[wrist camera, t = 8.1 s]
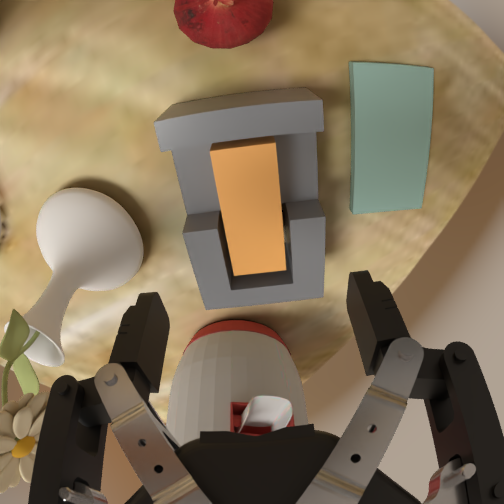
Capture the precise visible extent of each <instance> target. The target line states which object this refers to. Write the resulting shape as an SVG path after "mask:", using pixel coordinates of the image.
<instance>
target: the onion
mask: <svg viewBox="0 0 504 504" xmlns="http://www.w3.org/2000/svg"><path fill="white" fill-rule="evenodd" d="M272 11H273V0H175V5H174V14H175V17H176V20H177V23H178V26H179V29H180V30H181V31H182V32H183V33H185V34H186V35H187V36H188V37H189V38H190V39H191V40H192V41H193V42H195V43H198V44H201V45H204V46H207V47H210V48H227V49H231V48H234V47H237V46H240V45H244V44H247V43H249V42H250V41H252V40H253V39H255V38H256V37H258V36H259V35H260V34H262V33H263V32H264V30H265V28H266V27H267V25H268V24H269V22H270V20H271V19H272Z"/></svg>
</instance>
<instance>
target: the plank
mask: <svg viewBox="0 0 504 504" xmlns="http://www.w3.org/2000/svg"><path fill="white" fill-rule="evenodd" d="M210 156H211V161H212V167H213V172H214V177H215V182H216V188H217V193H218V198H219V203H220V208H221V213H222V218H223V223H224V228H225V233H226V238H227V243H228V248H229V253H230V258H231V263H232V268H233V273H234V276H237V275H246V274H255V273H264V272H273V271H282V270H286V260H285V246H284V233H283V220H282V208H281V196H280V184H279V173H278V162H277V152H276V143H275V139H274V136H264V137H255V138H247V139H239V140H231V141H224V142H217V143H212V145H211V148H210Z"/></svg>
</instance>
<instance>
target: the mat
mask: <svg viewBox="0 0 504 504" xmlns="http://www.w3.org/2000/svg"><path fill="white" fill-rule="evenodd" d="M349 74H350V98H351V186H350V210H351V212H352V214H363V213H374V212H385V211H396V210H408V209H420V208H422V202H423V196H424V189H425V182H426V175H427V167H428V158H429V149H430V138H431V126H432V110H433V80H434V68H430V67H424V66H415V65H405V64H393V63H378V62H349Z"/></svg>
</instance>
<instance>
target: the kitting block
mask: <svg viewBox="0 0 504 504" xmlns="http://www.w3.org/2000/svg"><path fill="white" fill-rule="evenodd" d="M154 126H155V130H156V134H157V138H158V143H159V147H160V151H161V152H164V151H170V150H171V151H172V155H173V160H174V164H175V168H176V172H177V176H178V180H179V184H180V188H181V192H182V196H183V200H184V204H185V208H186V212H187V218H186V222H185V225H184V229H183V233H182V234H183V237H184V240H185V244H186V247H187V251H188V254H189V257H190V261H191V264H192V267H193V271H194V274H195V277H196V280H197V284H198V287H199V290H200V293H201V296H202V299H203V303H204V306H205V309H206V310H210V309H221V308H232V307H242V306H252V305H262V304H271V303H280V302H289V301H297V300H305V299H313V298H321V297H323V294H324V269H325V224H326V216H325V214H324V212H323V209H322V207H321V205H320V202H319V200H318V167H317V141H316V132H322V131H324V117H323V100H322V99H321V98H319V97H318V96H317V95H315V94H314V93H312V92H311V91H310V90H308V89H307V88H306V87H303V88H288V89H276V90H265V91H256V92H247V93H239V94H232V95H225V96H218V97H212V98H206V99H200V100H194V101H189V102H183V103H178V104H173V105H171V106H170V107H169V108H168V109H167V110H166V111H165V112H164V113H163V114H162V115H161V116H160V117H159V118H157V119H156V120H155V121H154ZM264 136H274V139H275V143H276V152H277V162H278V173H279V184H280V196H281V203H283V213H284V227H285V240H286V243H284V246H285V260H286V270H282V271H273V272H264V273H255V274H246V275H237V276H234V273H233V268H232V263H231V258H230V253H229V248H228V243H227V238H226V233H225V228H224V223H223V218H222V213H221V208H220V203H219V198H218V193H217V188H216V182H215V177H214V172H213V167H212V161H211V156H210V148H211V145H212V143H217V142H224V141H231V140H239V139H247V138H255V137H264Z"/></svg>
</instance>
